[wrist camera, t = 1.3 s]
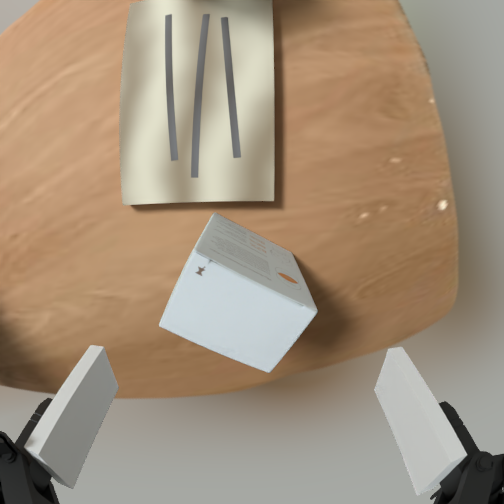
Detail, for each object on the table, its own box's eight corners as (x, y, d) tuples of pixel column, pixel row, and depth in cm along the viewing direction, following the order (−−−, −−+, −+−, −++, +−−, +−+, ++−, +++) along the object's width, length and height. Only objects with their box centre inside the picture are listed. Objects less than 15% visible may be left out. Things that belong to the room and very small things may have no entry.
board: (128, 203, 24) (122, 205, 23) (134, 8, 17) (130, 3, 16) (272, 198, 24) (273, 201, 23) (270, -5, 17) (271, -12, 16)
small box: (187, 262, 26) (153, 326, 16) (214, 209, 24) (190, 247, 14) (263, 300, 27) (269, 377, 17) (294, 252, 26) (320, 313, 16)
